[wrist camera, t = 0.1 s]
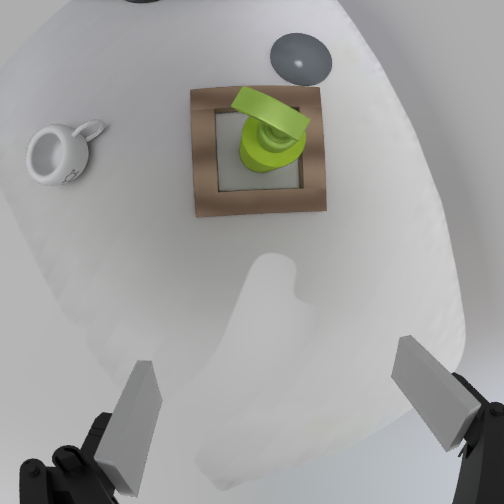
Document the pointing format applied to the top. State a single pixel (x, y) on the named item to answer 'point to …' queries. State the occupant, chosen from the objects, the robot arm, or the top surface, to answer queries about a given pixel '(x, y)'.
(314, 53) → the coaster
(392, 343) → the top surface
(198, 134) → the pocket frame
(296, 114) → the soap dispenser
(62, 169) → the mug
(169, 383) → the top surface
